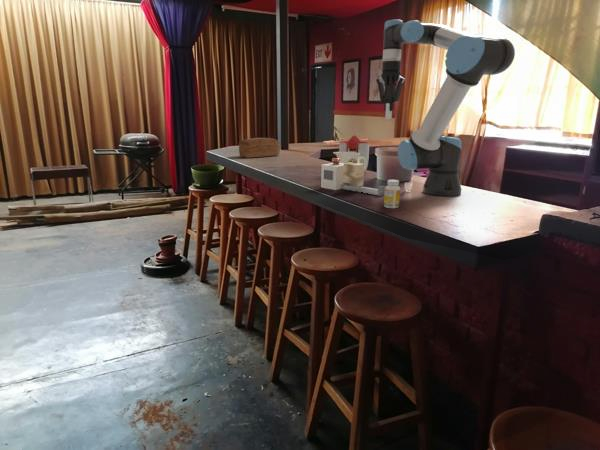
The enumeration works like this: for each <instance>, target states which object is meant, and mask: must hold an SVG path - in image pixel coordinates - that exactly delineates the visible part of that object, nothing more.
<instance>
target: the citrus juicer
mask: <svg viewBox="0 0 600 450" xmlns="http://www.w3.org/2000/svg"><path fill="white" fill-rule="evenodd" d="M338 142H339V146H338V147H339V149H338V152H357V153H360V155H359V157H364V158H365V159H366V161H367V167H366V170H365V172H364V175H365V174H366V171H367V169H368V166H369V157H370V143H371V141H369V140H362V139H360V138H358V136H357V135H356V134H353V135H352V137H350V138H349V139H344V140H343V139H342V140H338ZM359 162H360V164H364V160H360V161H359Z"/></svg>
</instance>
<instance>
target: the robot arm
mask: <svg viewBox="0 0 600 450" xmlns="http://www.w3.org/2000/svg"><path fill="white" fill-rule="evenodd" d="M382 43H383V47H382V64H381V65H382V66H381V70H382V72H381V76H380V77H379V78H376V83H377V87H378V92H379V100H380V102H382V103H383V104H384V107H383V110H384V112H385V117H384V119H385V120H391V119H392V114H393V112H394V110H395V103H397V102H399V101H400V97H401V92H402V90H403V89H402V88H403V85H404V83H405V81H406V77H403V76H401V64H402V63H401V59H402V46H403V44H418V45H419V44H421V45H432V46H435V47H438V48H441V49H444V50H447V51H446V54H445V58H446V59H444V61H445V73H446V78H445V79H444V82H443V83H442V86H441V87H440V89H439V91H438V93H437V95H436V97H435V99H434V100H433V103H431V106H430V107H429V110H428V111H427V113H426V114H425V115H426V116H425V117H424V118H423V120H422V122H421V124H420V127H419V129H416V130H413V132H412V133H411V134H410V136H409V138H408V139H403V140H401V141H400V143H399V144H398V147H397V158H398V162H399V164H400V166H401V167H402V168H403V169H405V170H410V171H411V170H412V171H416V170H426V169H427V170H428V175H427V177H426V179H425V182H424V184H423V185H422V192H423V193H425V194H428V195H431V196H438V197H439V196H440V197H455V196H460V195H461V194H462V186H461V182H460V177H459V172H460V171H459V170H460V163H461V156H462V155H461V154H462V150H463V149H462V139H460V138H459V137H452V136H443V134H444V133H445V131H446V129H447V127H448V126H449V124H450V122H451V121H452V119H453V117H454V116H455V114H456V113H457V111H458V109H459V107H460V106H461V105H462V102H463V101H464V99H465V97H466V95H467V94H468V92H469V91H470V89H471V88H472V87H475V86H477V85H478V84H479V83H480V81H481V80H482V78H483V76H484V75H485V76H487V75H488V76H490V75H491V76H494V75H498V74H501V73H503V72H505V71H506V70H507V69H509V67H511V65H512V63H513V62H514V59H515V54H516V50H515V47H514V46H515V45H513V43H512V41H510V40H509V39H507V38H506V37H502V36H501V37H500V36H489V35H479V34H472V33H469V32H465V31H462V30H458V29H455V28H452V27H449V26H448V25H446V24H441V23H438V24H437V23H428V22H427V23H425V22H421V21H419V20H418V19H415V20H408V21H406V22H403V20H401V19H389V20H386V21H385V22H384V29H383V42H382Z"/></svg>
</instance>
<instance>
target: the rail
mask: <svg viewBox="0 0 600 450" xmlns="http://www.w3.org/2000/svg"><path fill="white" fill-rule="evenodd" d="M385 187H386V186H385V185H380V186H378V187H377V188H373V187H366V186H363V185H362V186H358V187H354V186H348V185H343V184H341V189H340V190H347V191H350V190H351V191H350V192H356V191H357V192H356V193H361V192H363V193H362V194H367V193H368V194H369V195H374V196H378V197H381V196H385Z"/></svg>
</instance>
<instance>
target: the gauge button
mask: <svg viewBox="0 0 600 450" xmlns="http://www.w3.org/2000/svg"><path fill="white" fill-rule="evenodd" d="M339 162H340V158H337V157H332V158H331V163H333V165H339Z"/></svg>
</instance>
